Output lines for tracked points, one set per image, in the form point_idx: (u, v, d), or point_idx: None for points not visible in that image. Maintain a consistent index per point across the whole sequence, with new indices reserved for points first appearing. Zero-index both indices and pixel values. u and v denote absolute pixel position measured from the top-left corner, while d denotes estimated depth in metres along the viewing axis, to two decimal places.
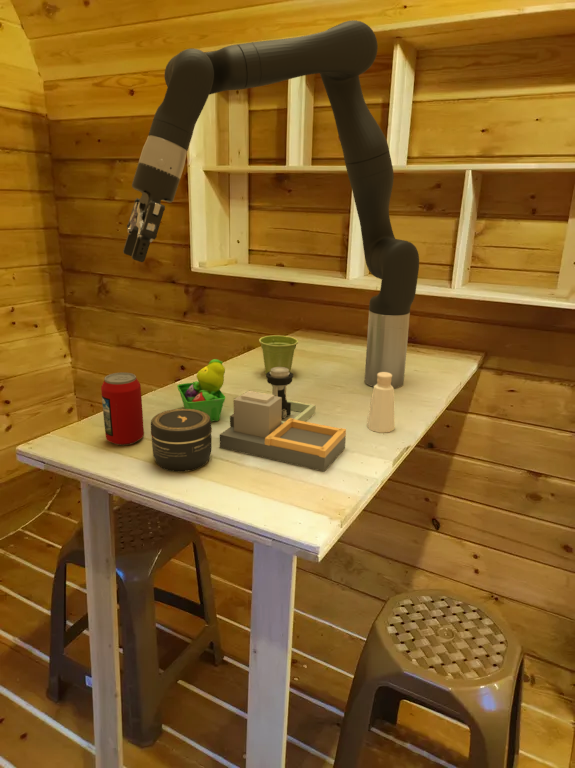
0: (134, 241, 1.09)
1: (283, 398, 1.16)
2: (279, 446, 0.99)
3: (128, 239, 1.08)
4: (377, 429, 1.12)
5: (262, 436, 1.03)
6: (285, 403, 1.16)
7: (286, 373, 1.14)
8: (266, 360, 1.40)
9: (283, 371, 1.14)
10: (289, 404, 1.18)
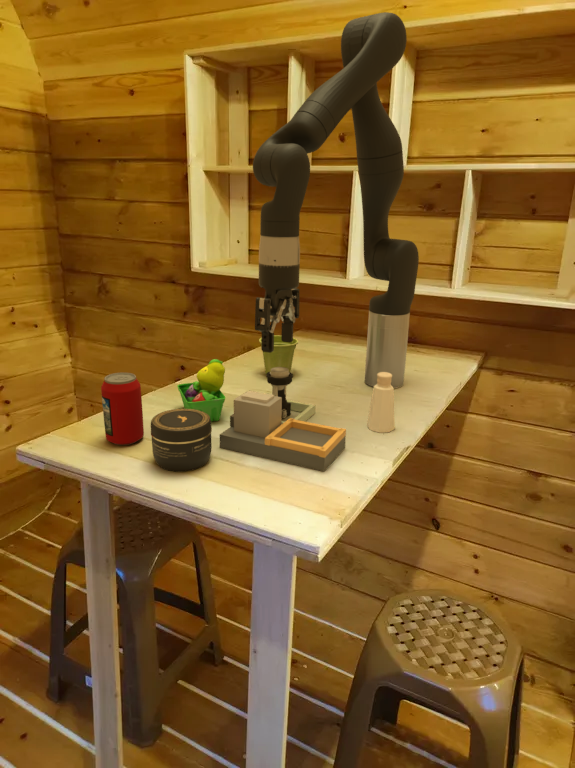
0: (287, 328, 1.15)
1: (283, 398, 1.16)
2: (279, 446, 0.99)
3: (282, 328, 1.16)
4: (377, 429, 1.12)
5: (262, 436, 1.03)
6: (285, 403, 1.16)
7: (286, 373, 1.14)
8: (266, 360, 1.40)
9: (283, 371, 1.14)
10: (289, 404, 1.18)
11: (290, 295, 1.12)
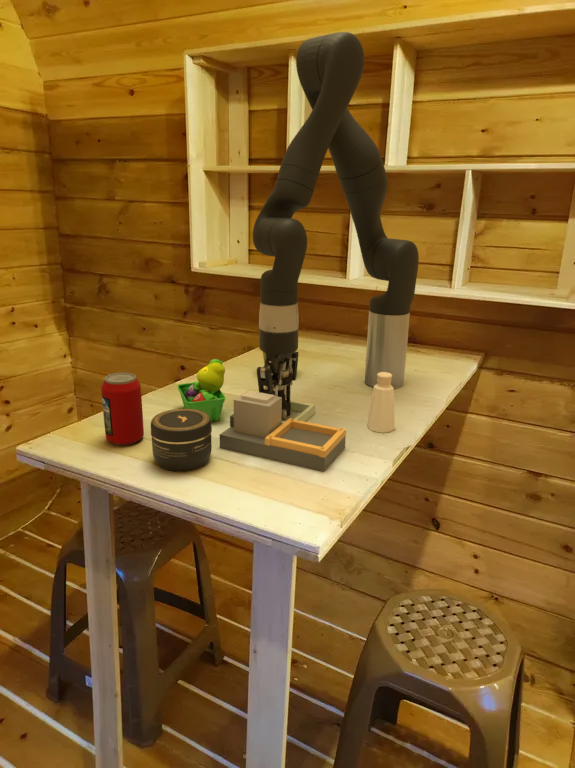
0: None
1: (283, 398, 1.16)
2: (279, 446, 0.99)
3: None
4: (377, 429, 1.12)
5: (262, 436, 1.03)
6: (285, 403, 1.16)
7: (286, 373, 1.14)
8: None
9: None
10: (289, 404, 1.18)
11: (290, 356, 1.16)
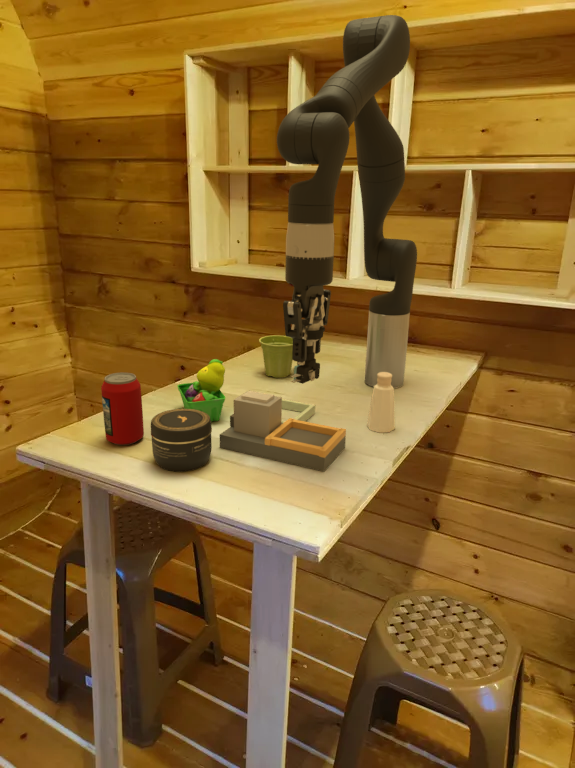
0: None
1: (312, 356, 0.97)
2: (279, 446, 0.99)
3: None
4: (377, 429, 1.12)
5: (262, 436, 1.03)
6: (314, 362, 0.97)
7: (317, 325, 0.94)
8: (266, 360, 1.40)
9: (314, 323, 0.94)
10: (318, 365, 0.98)
11: (321, 292, 0.96)
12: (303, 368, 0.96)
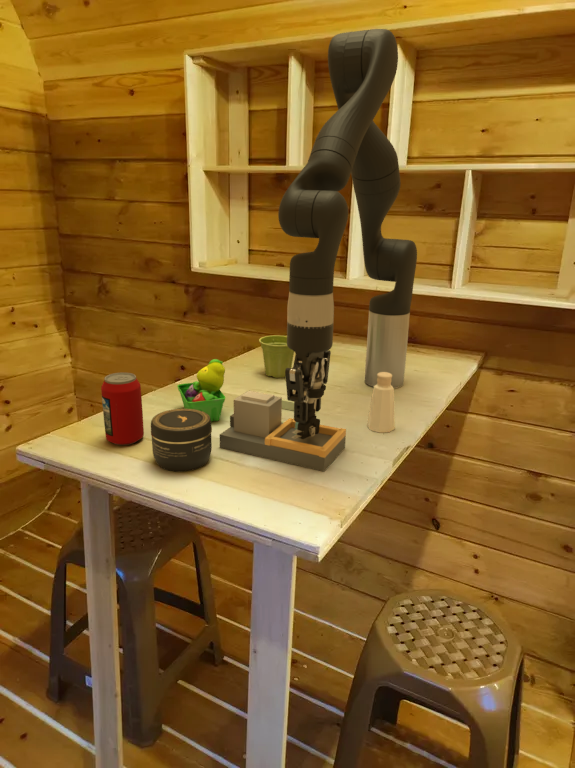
0: None
1: (312, 413, 1.00)
2: (279, 446, 0.99)
3: None
4: (377, 429, 1.12)
5: (262, 436, 1.03)
6: (314, 419, 1.00)
7: (318, 384, 0.98)
8: (266, 360, 1.40)
9: (316, 381, 0.98)
10: (318, 421, 1.02)
11: (321, 355, 0.99)
12: (304, 424, 0.99)
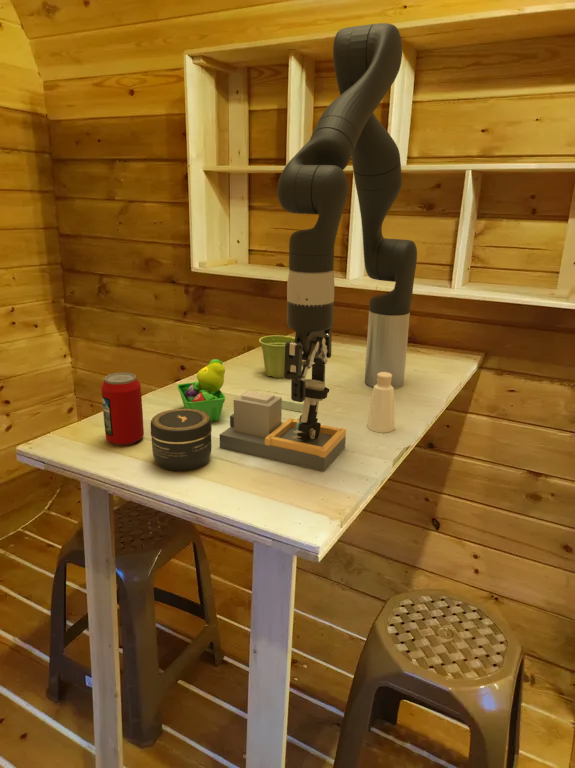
0: (318, 370, 1.02)
1: (314, 415, 1.00)
2: (279, 446, 0.99)
3: (312, 369, 1.02)
4: (377, 429, 1.12)
5: (262, 436, 1.03)
6: (316, 421, 1.00)
7: (322, 386, 0.99)
8: (266, 360, 1.40)
9: (320, 383, 0.99)
10: (319, 424, 1.02)
11: (322, 334, 0.98)
12: (305, 425, 0.99)
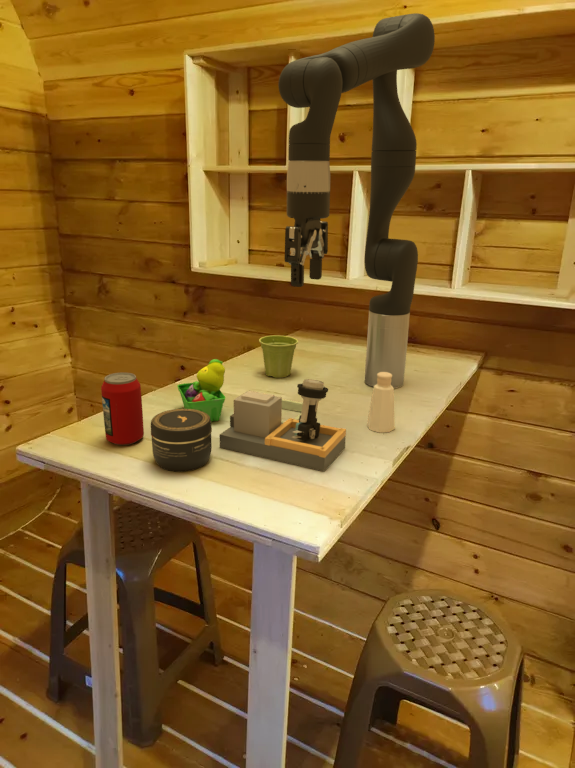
0: (316, 264, 1.09)
1: (313, 415, 1.01)
2: (279, 446, 0.99)
3: (310, 264, 1.10)
4: (377, 429, 1.12)
5: (262, 436, 1.03)
6: (315, 421, 1.00)
7: (321, 385, 0.99)
8: (266, 360, 1.40)
9: (318, 382, 0.99)
10: (319, 424, 1.02)
11: (319, 227, 1.06)
12: (305, 425, 0.99)
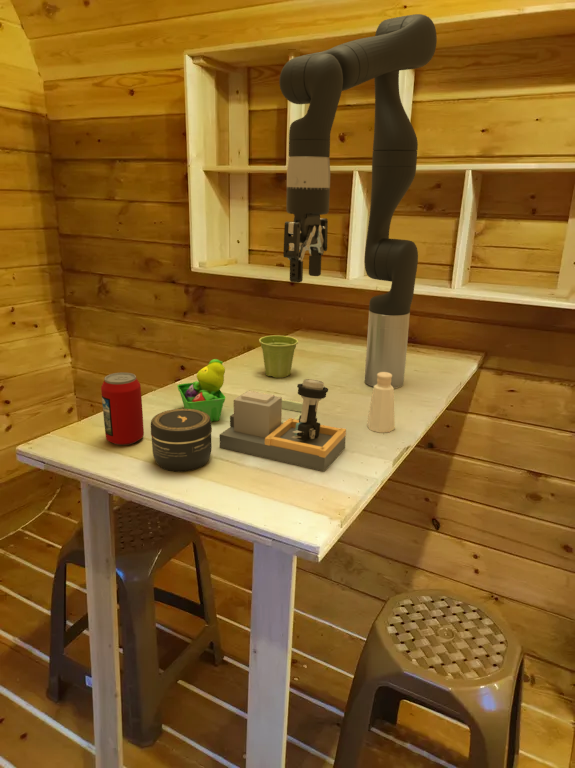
0: (315, 261, 1.10)
1: (313, 415, 1.01)
2: (279, 446, 0.99)
3: (310, 260, 1.10)
4: (377, 429, 1.12)
5: (262, 436, 1.03)
6: (315, 421, 1.00)
7: (321, 385, 0.99)
8: (266, 360, 1.40)
9: (318, 382, 0.99)
10: (319, 424, 1.02)
11: (319, 224, 1.06)
12: (305, 425, 0.99)
